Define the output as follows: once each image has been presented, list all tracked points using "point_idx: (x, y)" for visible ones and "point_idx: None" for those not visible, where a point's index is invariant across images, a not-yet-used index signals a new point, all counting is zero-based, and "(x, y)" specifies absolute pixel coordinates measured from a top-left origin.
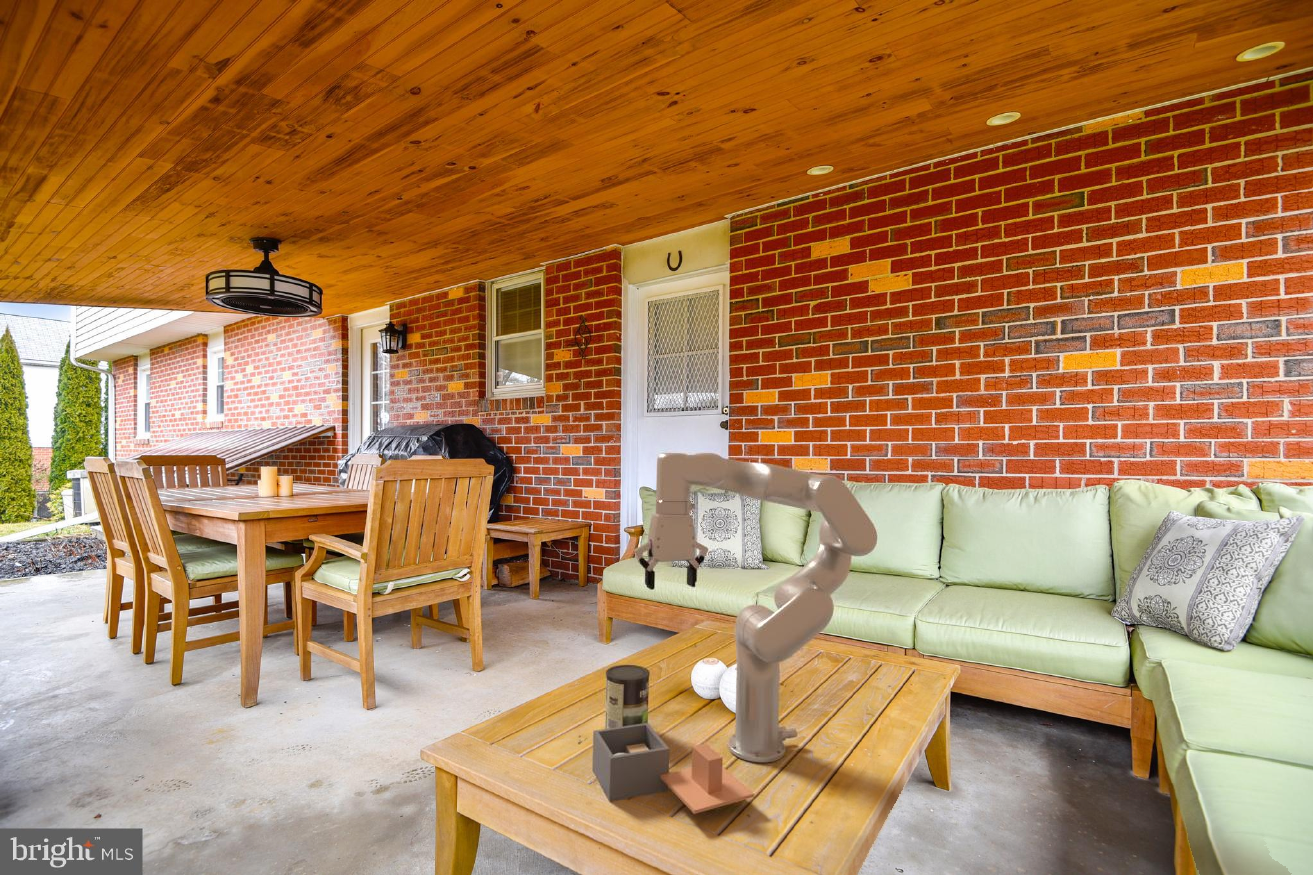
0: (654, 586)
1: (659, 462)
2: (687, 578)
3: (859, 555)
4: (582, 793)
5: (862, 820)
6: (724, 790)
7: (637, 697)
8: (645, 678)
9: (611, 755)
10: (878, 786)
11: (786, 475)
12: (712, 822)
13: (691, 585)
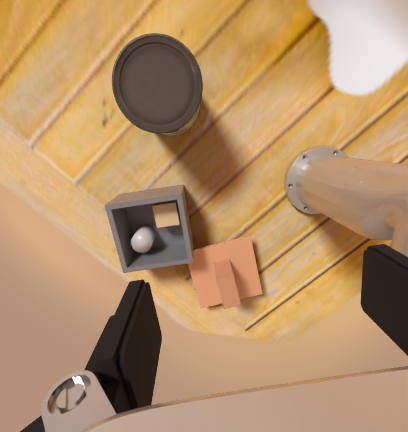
0: (160, 346)
1: None
2: (388, 271)
3: None
4: (109, 235)
5: (338, 306)
6: (237, 285)
7: (174, 131)
8: (188, 121)
9: (125, 266)
10: None
11: None
12: None
13: (364, 303)
